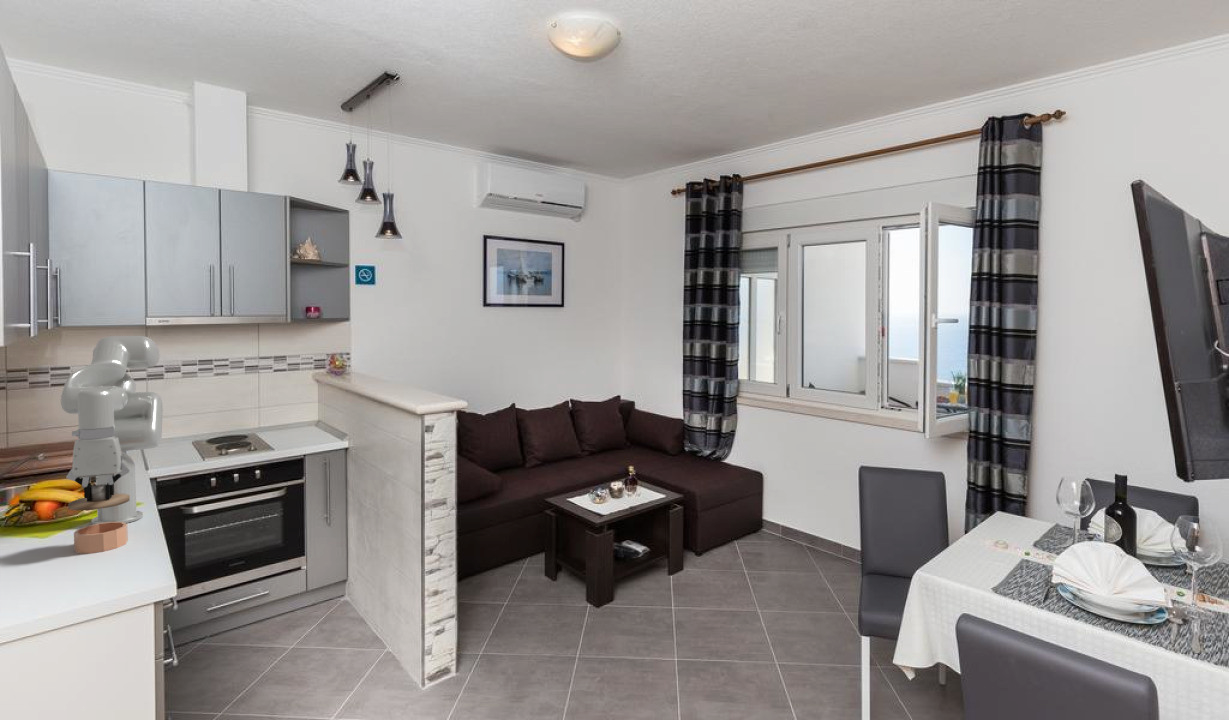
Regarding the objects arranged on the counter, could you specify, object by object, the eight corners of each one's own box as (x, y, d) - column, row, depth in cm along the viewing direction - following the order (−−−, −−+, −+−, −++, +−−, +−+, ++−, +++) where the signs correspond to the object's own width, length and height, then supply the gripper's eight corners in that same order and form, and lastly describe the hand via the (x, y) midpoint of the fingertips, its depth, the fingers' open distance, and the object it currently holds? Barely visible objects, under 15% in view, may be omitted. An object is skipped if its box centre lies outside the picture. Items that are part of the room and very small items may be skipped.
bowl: (81, 542, 171) (80, 525, 170) (130, 536, 176) (130, 519, 176) (70, 556, 161) (69, 537, 161) (122, 548, 167) (121, 531, 166)
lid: (61, 513, 159) (61, 494, 159) (75, 500, 170) (75, 483, 170) (124, 506, 165) (123, 488, 165) (134, 494, 177) (133, 478, 176)
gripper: (53, 438, 159) (56, 506, 160) (132, 433, 168) (134, 498, 169) (61, 434, 166) (64, 499, 167) (137, 429, 174) (139, 492, 175)
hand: (99, 498), depth 168 cm, fingers closed on lid, 3 cm apart
